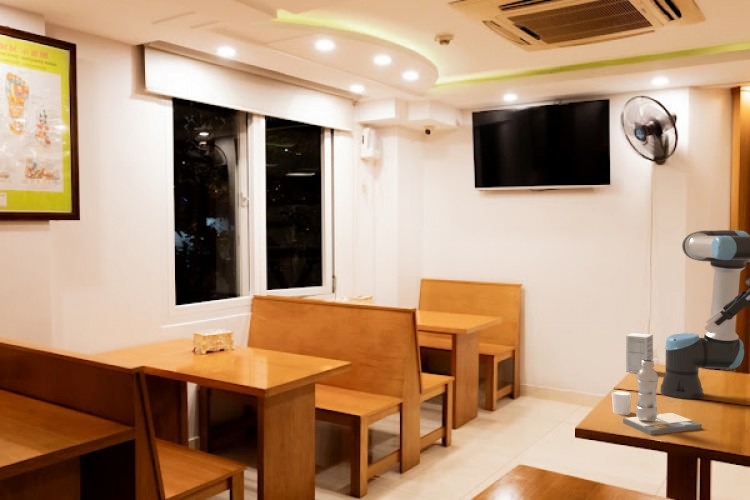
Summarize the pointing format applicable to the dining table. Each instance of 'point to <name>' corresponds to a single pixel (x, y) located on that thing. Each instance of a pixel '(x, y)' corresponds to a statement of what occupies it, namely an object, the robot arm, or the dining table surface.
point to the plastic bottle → (647, 391)
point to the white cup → (621, 402)
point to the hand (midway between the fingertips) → (708, 327)
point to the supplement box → (638, 350)
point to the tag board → (663, 424)
